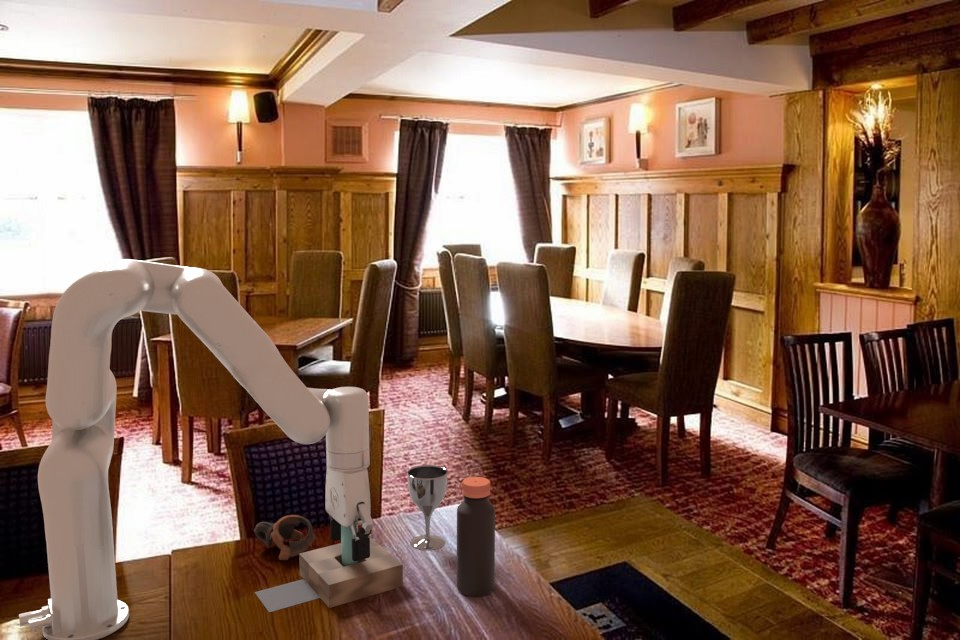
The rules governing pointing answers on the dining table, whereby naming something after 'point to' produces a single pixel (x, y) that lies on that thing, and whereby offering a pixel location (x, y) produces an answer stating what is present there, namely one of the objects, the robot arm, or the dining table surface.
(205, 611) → the dining table surface
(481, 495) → the bottle
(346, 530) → the peg
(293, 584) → the mat
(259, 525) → the brown hollow rounded piece
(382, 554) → the hole block
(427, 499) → the wine glass
